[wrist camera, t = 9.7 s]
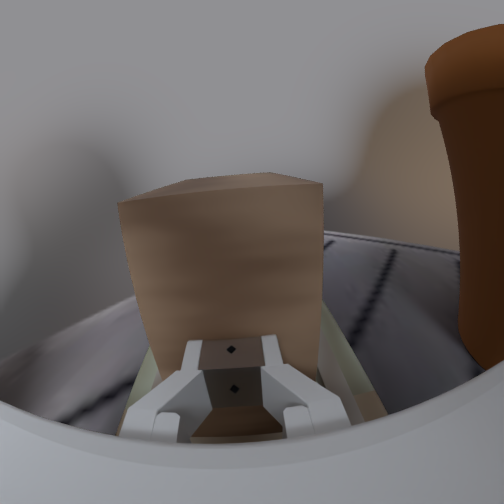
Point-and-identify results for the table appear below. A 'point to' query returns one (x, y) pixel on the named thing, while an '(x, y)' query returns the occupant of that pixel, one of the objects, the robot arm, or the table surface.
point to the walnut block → (229, 273)
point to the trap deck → (328, 376)
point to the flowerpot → (475, 177)
